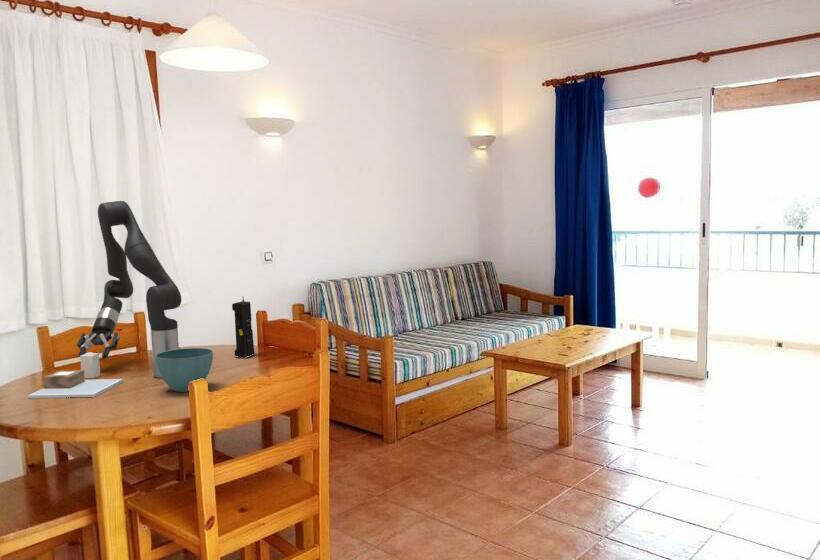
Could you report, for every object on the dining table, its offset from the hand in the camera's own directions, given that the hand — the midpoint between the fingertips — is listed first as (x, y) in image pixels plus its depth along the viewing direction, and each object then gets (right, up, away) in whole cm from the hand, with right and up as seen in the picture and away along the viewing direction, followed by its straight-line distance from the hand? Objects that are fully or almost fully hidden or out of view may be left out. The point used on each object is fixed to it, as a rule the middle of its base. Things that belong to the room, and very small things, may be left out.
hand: (92, 357), depth 236 cm
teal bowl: (+43, -8, -22) cm, 48 cm away
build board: (+5, -9, -19) cm, 22 cm away
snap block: (0, -7, -1) cm, 7 cm away
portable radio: (+49, -3, +28) cm, 57 cm away
